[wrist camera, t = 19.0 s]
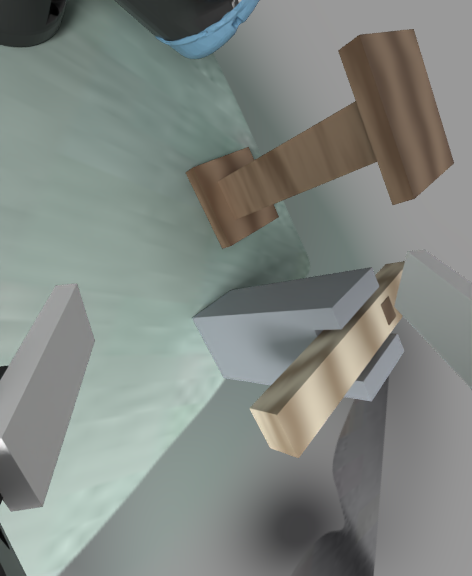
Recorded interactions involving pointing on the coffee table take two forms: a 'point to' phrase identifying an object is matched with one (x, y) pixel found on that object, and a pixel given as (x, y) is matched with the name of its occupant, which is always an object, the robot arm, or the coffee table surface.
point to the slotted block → (291, 327)
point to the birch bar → (327, 370)
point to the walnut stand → (338, 142)
